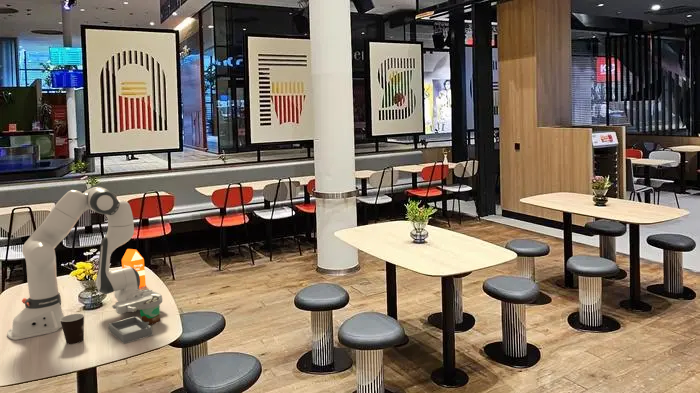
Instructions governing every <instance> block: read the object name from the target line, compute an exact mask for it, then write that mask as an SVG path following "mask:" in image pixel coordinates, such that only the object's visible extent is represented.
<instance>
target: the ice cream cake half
mask: <svg viewBox="0 0 700 393" xmlns="http://www.w3.org/2000/svg"><path fill="white" fill-rule="evenodd" d="M161 304H162V303H161V300H160V298H159V297H158V296H152V298H151V299H150V300H147V301H146V302H145V303H144V304H139V309H138V310H139V314H140V319H141V320H142V321H144V322H145V323H147V324H148V325H150V326H153V325H156V324H158V323H159V322H160V320H161V312H160V311H161V308H160V307H161V306H160V305H161Z"/></svg>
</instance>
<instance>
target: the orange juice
mask: <svg viewBox="0 0 700 393" xmlns="http://www.w3.org/2000/svg"><path fill="white" fill-rule="evenodd" d="M127 267H132V268H134V269H135V270H136V271H137V272H138V274H139V276H140V286H139V288H143V287H146V286H147V283H146V271H145V270H146V269H145V259H144V257H143V256H142V255H141V254H140V252H139V251H138V250H137V249H133V248H127V249H126V250H125V253H124V255H123V256H122V258H121V269H122V268H127Z"/></svg>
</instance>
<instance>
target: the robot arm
mask: <svg viewBox="0 0 700 393" xmlns="http://www.w3.org/2000/svg"><path fill="white" fill-rule="evenodd" d="M88 210H91V211H93V212H95V213H97V214H101V215H105V216H106V218H107V232H106V234H105V236H104V237H103V238H102V239H101V241H100V246H99V257H98V268H97V275H96V279H95V280H96V281H95V285H96V289H97V291H98V292H100V293H101V294H104V295H109V294H112V293H113V294H114V298H115V299H116V301H117V302H115V304H113V305H112V306H111V308H112V309H114V310H115V312H116V313H117V314H118V315H121V314H125V313H126V314H127V313H129V312H130V313H131V312H132V313H134V312H137V311H138V310H140V309H139V304H144V303H145V302H146V301H147V300H150V299H151V298H152V296H158V297H159V298H160V300H161V304H162V303H163V295H162V294H161V293H160V292H157V291H153V289H152V288H149V289H140V287H139V286H140V276H139V274H138V272H137V271H136V270H135V269H134V268H132V267H127V268H122V267H121V268H119V269H116V270H115V269H114V270H110V267H111V266H110V263H111V256H112V254H113V252H115V250H116V249H117V248H119V247H122V246H123V245H125V244H126V243H127V242H129V241H130V240H131V239H132V238H133V236H134V233H135V225H134V224H135V223H134V215H133V211H132V208H131V205H130V203H129V202H128V201H126V200H122V199H117V197H116V196H115V195H114V194H113V192H111V191H110V190H108V189H107V188H105V187H102V186H98V185H97V186H96V185H95V186H90V187H88V188H86V189H84V190H83V191H80V190H76V189H71V190H68V191H67V192H66V193H65V194H64V195H63V196H62V197H61V198H60V199H59V200H58V201H57V202H56V203H55V205H54V207H53V208H52V209H51V211H50V212H49V213H48V215H47V216H46V217H45V219H44V220H43V222H42V223H41V224H40V225H39V226H38V227H37V228H36V229H35V230H34V232H33V233H32V234H31V235H30V236H29V237H28V239H27V240H26V241H25V242H24V244H23V245H22V249H21V250H22V251H21V252H22V254H23V257H24V259H25V264H26V276H27V277H26V278H27V279H26V280H27V287H28V288H27V289H28V296H29V297H28V298H26V297H23V298H22V299H21V302H22V303H23V304H24V305H25V307H24V308H23V310H21V311H20V312H18V313H17V315H16V316H15V317H13V320H12V327H11V328H9V329H8V330H7V331H6V335H7V337H8V339H10V340H13V341H15V340H16V341H19V340H22V339H28V338H32V337H38V336H42V335H47V334H53V333H56V332H57V331H58V330H59V329H61V328H62V325H61V321H60V319H61V318H62V317H64V313H63V312H64V311H63V310H62V298H61V293H60V292H59V286H58V285H59V284H58V279H57V278H58V277H57V256H56V250H55V249H56V248H57V246H58V245H59V244H60V243H61V242H62V241H63V240H64V239H65V238H66V237H67V236H68V235H69V234H70V232H71V231H72V229H73V228H74V226H75V225H76V224H77V222H78V221H79V219H80V218H81V216H82V215H83V214H84V213H85V212H87V211H88Z"/></svg>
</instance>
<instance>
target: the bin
mask: <svg viewBox="0 0 700 393" xmlns="http://www.w3.org/2000/svg"><path fill="white" fill-rule="evenodd" d="M107 326H108V332H109V333H110V334H111V335H113V336H114V337H115V338H116V339H118V340H119V341H120V342H122V344H124V345H125V344H127V343H130V342H134V341H137V340H140V339H143V338H148V337H151V336H153V328H152V327H153V326H152V325H148V324H147V323H145V322H144V321H142V320H141V318H140V317H138V316H136V315H134V316H132V317H127V318H125V319H122V320H117V321H113V322H110V323H108V325H107Z"/></svg>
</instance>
